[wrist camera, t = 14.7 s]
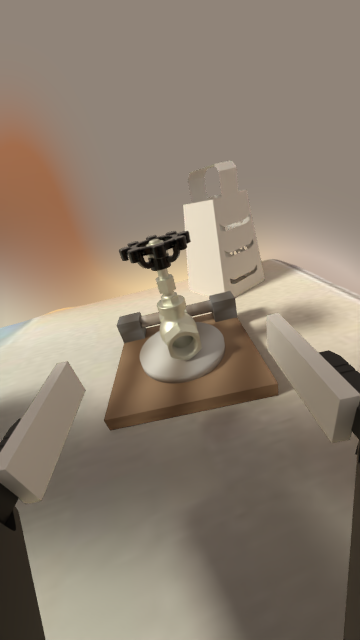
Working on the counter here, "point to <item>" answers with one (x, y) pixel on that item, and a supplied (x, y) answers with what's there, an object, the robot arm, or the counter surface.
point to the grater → (220, 236)
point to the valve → (168, 291)
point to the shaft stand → (186, 367)
